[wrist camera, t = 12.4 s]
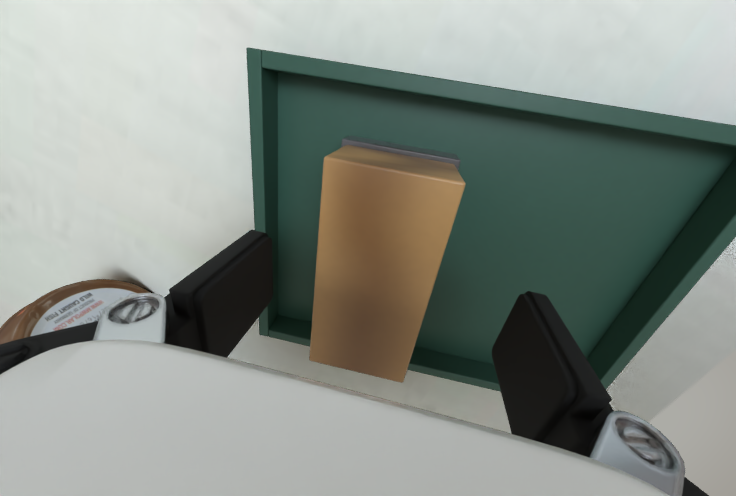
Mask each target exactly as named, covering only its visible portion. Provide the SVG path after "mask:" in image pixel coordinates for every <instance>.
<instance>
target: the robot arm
mask: <svg viewBox="0 0 736 496" xmlns="http://www.w3.org/2000/svg"><path fill="white" fill-rule="evenodd" d="M169 291H170V294H168V295H167V296H166V297H164V298H163V297H162V296H161V295H158V294H155V293H139V294H134V295H129V296H126V297H124V298H121V299H118V300H117V301H115V302H113V303H111V304H110V305H109V306H107V307H106V308H105V309H104V310H103V312H102V314H101V315H100V318H99V321H95V322H91V323H87V324H82V325H78V326H74V327H69V328H65V329H61V330H56V331H52V332H48V333H43V334H39V335H35V336H30V337H26V338H22V339H18V340H14V341H10V342H7V343H3V344H0V496H709V495H707V494H706V493H705V492H703V491H702V490H701V489H699V488H698V487H697V486H696V485H694V484H693V483H692V482H690V481H689V480H688V479H687V478H685V477H684V475H685V467H684V461H683V459H682V458H681V456H680V454H679V452H678V451H677V449H676V448H675V447H674V445H673V444H672V443H671V442H670V441H669V440H668V439H667V438H666V437H665V436H664V435H663V434H662V433H661V432H660V431H659V430H657V429H656V428H654V427H653V426H652V425H651V424H649V423H648V422H646V421H645V420H643V419H641V418H639V417H638V416H635V415H633V414H630V413H628V412H623V411H613V409H612V408H611V406H610V404H609V402H610V401H611V400H612V399H611V397H610V396H609V394H608V393H607V391H606V389H605V388H604V386H603V385H602V383H601V381H600V380H599V378H598V377H597V375H596V373H595V372H594V370H593V369H592V367H591V365H590V364H589V362H588V361H587V359H586V357H585V356H584V354H583V353H582V351H581V349H580V348H579V346H578V345H577V343H576V341H575V340H574V338H573V337H572V335H571V333H570V332H569V330H568V329H567V327H566V325H565V324H564V322H563V321H562V319H561V317H560V316H559V314H558V313H557V311H556V309H555V308H554V306H553V305H552V303H551V301H550V300H549V298H548V297H547V296H546V295H544V294H540V293H535V292H531V291H527V292H526V293H525V294H520V295H519V296H518V298H517V300H516V302H515V304H514V306H513V308H512V310H511V312H510V314H509V316H508V318H507V320H506V322H505V324H504V325H503V327H502V329H501V331H500V333H499V335H498V337H497V339H496V341H495V343H494V345H493V348H492V359H493V362H494V366H495V370H496V374H497V378H498V382H499V386H500V389H501V393H502V397H503V401H504V405H505V409H506V413H507V417H508V420H509V424H510V428H511V432H512V434H510V433H507V432H503V431H500V430H496V429H492V428H489V427H485V426H481V425H478V424H474V423H470V422H467V421H463V420H459V419H456V418H452V417H448V416H445V415H441V414H437V413H434V412H430V411H426V410H423V409H419V408H415V407H412V406H408V405H404V404H401V403H397V402H393V401H389V400H386V399H382V398H378V397H375V396H371V395H367V394H363V393H360V392H356V391H352V390H348V389H345V388H341V387H337V386H333V385H330V384H326V383H322V382H318V381H315V380H311V379H307V378H303V377H299V376H295V375H292V374H288V373H284V372H280V371H276V370H272V369H269V368H265V367H261V366H257V365H253V364H250V363H246V362H242V361H238V360H234V359H230V358H227V357H228V355H229V354H230V353H231V352H232V350H233V349H234V348H235V346H236V345H237V344H238V343H239V341H240V340H241V339H242V337H243V336H244V335H245V334H246V332H247V331H248V330H249V329H250V327H251V326H252V325H253V323H254V322H255V321H256V320H257V318H258V317H259V316H260V314H261V313H262V312H263V311H264V309H265V308H266V307H267V306H268V304H269V303H270V301H271V300H272V297H273V262H272V239H271V238H269V237H268V234H267V233H264V232H259V231H255V230H250V231H249V232H247V233H246V234H245V235H243V236H242V237H241V238H239V239H238V240H236V241H235V242H234V243H232V244H231V245H230V246H228V247H227V248H225V249H224V250H223V251H221V252H220V253H219V254H217V255H216V256H214V257H213V258H212V259H210V260H209V261H208V262H206V263H205V264H203V265H202V266H201V267H199V268H198V269H197V270H195V271H194V272H192V273H191V274H190V275H188V276H187V277H186V278H184V279H183V280H181V281H180V282H179V283H177V284H176V285H174V286H173V287H172V288H170V289H169Z"/></svg>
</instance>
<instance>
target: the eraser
mask: <svg viewBox="0 0 736 496" xmlns="http://www.w3.org/2000/svg"><path fill="white" fill-rule="evenodd" d="M460 162H461V160H460V159H459V157H458V156H457V155H456V154H452V153H446V152H441V151H435V150H429V149H424V148H418V147H413V146H407V145H402V144H396V143H390V142H385V141H379V140H374V139H368V138H363V137H357V136H351V135H350V136H348V137H345V138H343V139H342V144H341V148H340V149H338V150H336V151H334V152H333V153H331V154H329V155H327V156H325V157H324V162H323V176H322V190H321V204H320V218H319V231H318V245H317V259H316V273H315V287H314V301H313V315H312V329H311V343H310V357H309V360H310V361H314V362H318V363H322V364H326V365H330V366H335V367H339V368H343V369H347V370H351V371H355V372H359V373H364V374H368V375H372V376H376V377H380V378H384V379H388V380H393V381H397V382H401V383H402V382H403V381H404V378H405V375H406V372H407V369H408V366H409V362H410V359H411V356H412V353H413V350H414V347H415V343H416V340H417V337H418V334H419V331H420V328H421V324H422V321H423V318H424V315H425V312H426V309H427V305H428V302H429V299H430V296H431V293H432V290H433V286H434V283H435V280H436V277H437V274H438V271H439V267H440V264H441V261H442V258H443V255H444V252H445V248H446V245H447V242H448V239H449V236H450V233H451V230H452V226H453V223H454V220H455V217H456V214H457V211H458V207H459V204H460V201H461V198H462V195H463V192H464V188H465V182H464V180H463V178H462V177H461V175H460V173H459V172H458V169H459V165H460Z"/></svg>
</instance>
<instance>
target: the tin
mask: <svg viewBox="0 0 736 496" xmlns="http://www.w3.org/2000/svg"><path fill="white" fill-rule="evenodd" d="M139 293H150V292H148V291H147V290H145V289H143V288H141V287H139V286H137V285H134V284H131V283H127V282H123V281H117V280H106V279H97V280H87V281H81V282H77V283H73V284H70V285H66V286H63V287H61V288H58V289H55V290H53V291H51V292H49V293H47V294H46V295H44V296H42V297H40V298H39V299H37V300H36V301H34V302H33V303H31V304H29V305H27V306H26V307H24V308H22V309H21V310H19V311H18V312H17V313H15V314H14V315H13V316H12V317H10V318H9V319H8V320H7V321H6V322H5V323H4V324H3V325H2V327H1V328H0V344H3V343H7V342H10V341H14V340H18V339H22V338H26V337H30V336H35V335H39V334H43V333H48V332H52V331H56V330H61V329H65V328H69V327H74V326H78V325H82V324H87V323H91V322H95V321H99V318H100V315H101V314H102V312H103V310H104V309H105V308H106V307H107V306H109V305H110V304H111V303H113V302H115V301H117V300H118V299H121V298H124V297H126V296H129V295H134V294H139Z"/></svg>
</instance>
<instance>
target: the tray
mask: <svg viewBox="0 0 736 496" xmlns="http://www.w3.org/2000/svg"><path fill="white" fill-rule="evenodd" d="M247 70H248V91H249V113H250V135H251V157H252V179H253V201H254V222H255V231H259V232H264V233H267V234H268V237H269V238H271V239H272V262H273V297H272V300H271V301H270V303H269V304H268V306H267V307H266V308H265V309H264V311H263V312H262V313H261V314H260V316H259V332H260V335H263V336H269V337H272V338H277V339H281V340H285V341H289V342H293V343H298V344H302V345H306V346H310V343H311V329H312V315H313V301H314V287H315V273H316V259H317V245H318V231H319V218H320V204H321V190H322V176H323V162H324V157H325V156H327V155H329V154H331V153H333V152H334V151H336V150H338V149H340V148H341V144H342V139H343V138H345V137H348V136H350V135H351V136H357V137H363V138H368V139H374V140H379V141H385V142H390V143H396V144H402V145H407V146H413V147H418V148H424V149H429V150H435V151H441V152H446V153H452V154H456V155H457V156H458V157H459V159H460V160H461V162H460V165H459V169H458V172H459V173H460V175H461V177H462V178H463V180H464V182H465V188H464V192H463V195H462V198H461V201H460V204H459V207H458V211H457V214H456V217H455V220H454V223H453V226H452V230H451V233H450V236H449V239H448V242H447V245H446V248H445V252H444V255H443V258H442V261H441V264H440V267H439V271H438V274H437V277H436V280H435V283H434V286H433V290H432V293H431V296H430V299H429V302H428V305H427V309H426V312H425V315H424V318H423V321H422V324H421V328H420V331H419V334H418V337H417V340H416V343H415V347H414V350H413V353H412V356H411V359H410V362H409V366H408V369H407V370H412V371H416V372H420V373H424V374H428V375H433V376H437V377H441V378H445V379H450V380H454V381H458V382H462V383H466V384H471V385H475V386H479V387H483V388H487V389H492V390H496V391H500V392H501V389H500V386H499V382H498V378H497V374H496V370H495V366H494V362H493V359H492V348H493V345H494V343H495V341H496V339H497V337H498V335H499V333H500V331H501V329H502V327H503V325H504V324H505V322H506V320H507V318H508V316H509V314H510V312H511V310H512V308H513V306H514V304H515V302H516V300H517V298H518V296H519V295H520V294H525V293H526V292H527V291H531V292H535V293H540V294H544V295H546V296H547V297H548V298H549V300H550V301H551V303H552V305H553V306H554V308H555V309H556V311H557V313H558V314H559V316H560V317H561V319H562V321H563V322H564V324H565V325H566V327H567V329H568V330H569V332H570V333H571V335H572V337H573V338H574V340H575V341H576V343H577V345H578V346H579V348H580V349H581V351H582V353H583V354H584V356H585V357H586V359H587V361H588V362H589V364H590V365H591V367H592V369H593V370H594V372H595V373H596V375H597V377H598V378H599V380H600V381H601V383H602V385H603V386H604V388H605V389H607V388H608V386H609V385H610V384H611V383H612V382H613V381H614V379H615V378H616V377H617V376H618V375H619V374H620V372H621V371H622V370H623V369H624V368H625V366H626V365H627V364H628V363H629V362H630V361H631V359H632V358H633V357H634V356H635V355H636V353H637V352H638V351H639V350H640V349H641V348H642V346H643V345H644V344H645V343H646V342H647V341H648V339H649V338H650V337H651V336H652V335H653V333H654V332H655V331H656V330H657V329H658V328H659V326H660V325H661V324H662V323H663V322H664V321H665V319H666V318H667V317H668V316H669V315H670V313H671V312H672V311H673V310H674V309H675V308H676V306H677V305H678V304H679V303H680V302H681V300H682V299H683V298H684V297H685V296H686V295H687V293H688V292H689V291H690V290H691V289H692V288H693V286H694V285H695V284H696V283H697V282H698V280H699V279H700V278H701V277H702V276H703V275H704V273H705V272H706V271H707V270H708V269H709V268H710V266H711V265H712V264H713V263H714V262H715V260H716V259H717V258H718V257H719V256H720V255H721V253H722V252H723V251H724V250H725V249H726V248H727V246H728V245H729V244H730V243H731V242H732V240H733V239H734V238H735V237H736V126H735V125H728V124H722V123H716V122H710V121H703V120H697V119H691V118H685V117H678V116H672V115H666V114H660V113H653V112H647V111H641V110H635V109H628V108H622V107H616V106H610V105H603V104H597V103H591V102H585V101H578V100H572V99H566V98H560V97H553V96H547V95H541V94H535V93H528V92H522V91H516V90H510V89H504V88H497V87H491V86H485V85H479V84H472V83H466V82H460V81H454V80H447V79H441V78H435V77H429V76H422V75H416V74H410V73H404V72H397V71H391V70H385V69H379V68H372V67H366V66H360V65H354V64H347V63H341V62H335V61H329V60H322V59H316V58H310V57H304V56H297V55H291V54H285V53H279V52H272V51H266V50H260V49H254V48H247Z"/></svg>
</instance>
